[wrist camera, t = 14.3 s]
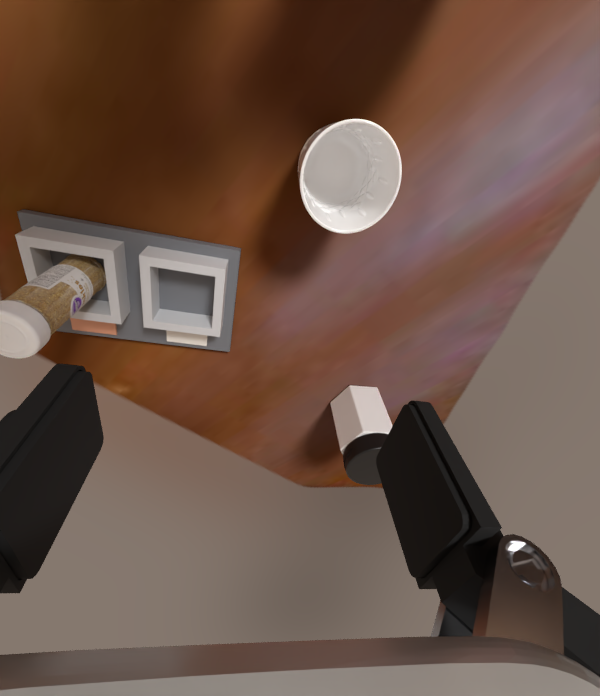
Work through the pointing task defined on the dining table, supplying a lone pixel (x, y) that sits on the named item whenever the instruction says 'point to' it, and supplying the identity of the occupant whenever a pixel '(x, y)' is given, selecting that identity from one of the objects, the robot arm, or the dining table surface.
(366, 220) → the white cup
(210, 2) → the dining table surface
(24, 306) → the sprinkles bottle
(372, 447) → the jar
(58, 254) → the socket board
